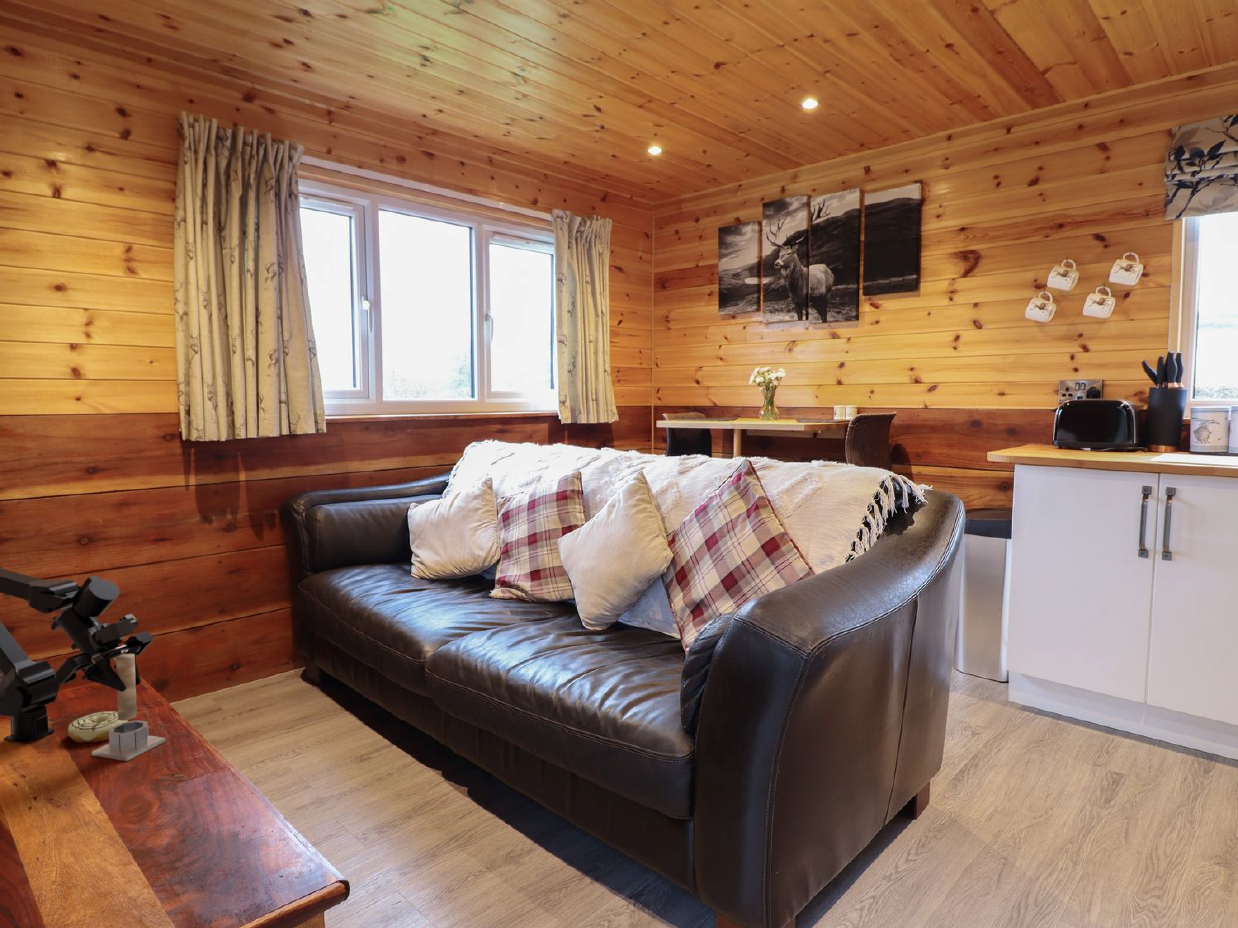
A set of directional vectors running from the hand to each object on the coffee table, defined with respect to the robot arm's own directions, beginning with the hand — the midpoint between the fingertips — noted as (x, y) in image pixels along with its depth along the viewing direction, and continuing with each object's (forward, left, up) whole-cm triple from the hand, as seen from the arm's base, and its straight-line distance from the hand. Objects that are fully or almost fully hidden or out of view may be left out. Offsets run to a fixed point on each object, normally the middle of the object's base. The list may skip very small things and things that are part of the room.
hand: (131, 686), depth 151 cm
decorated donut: (-14, +4, -14) cm, 20 cm away
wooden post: (-1, 0, -7) cm, 7 cm away
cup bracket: (-1, 0, -13) cm, 13 cm away
